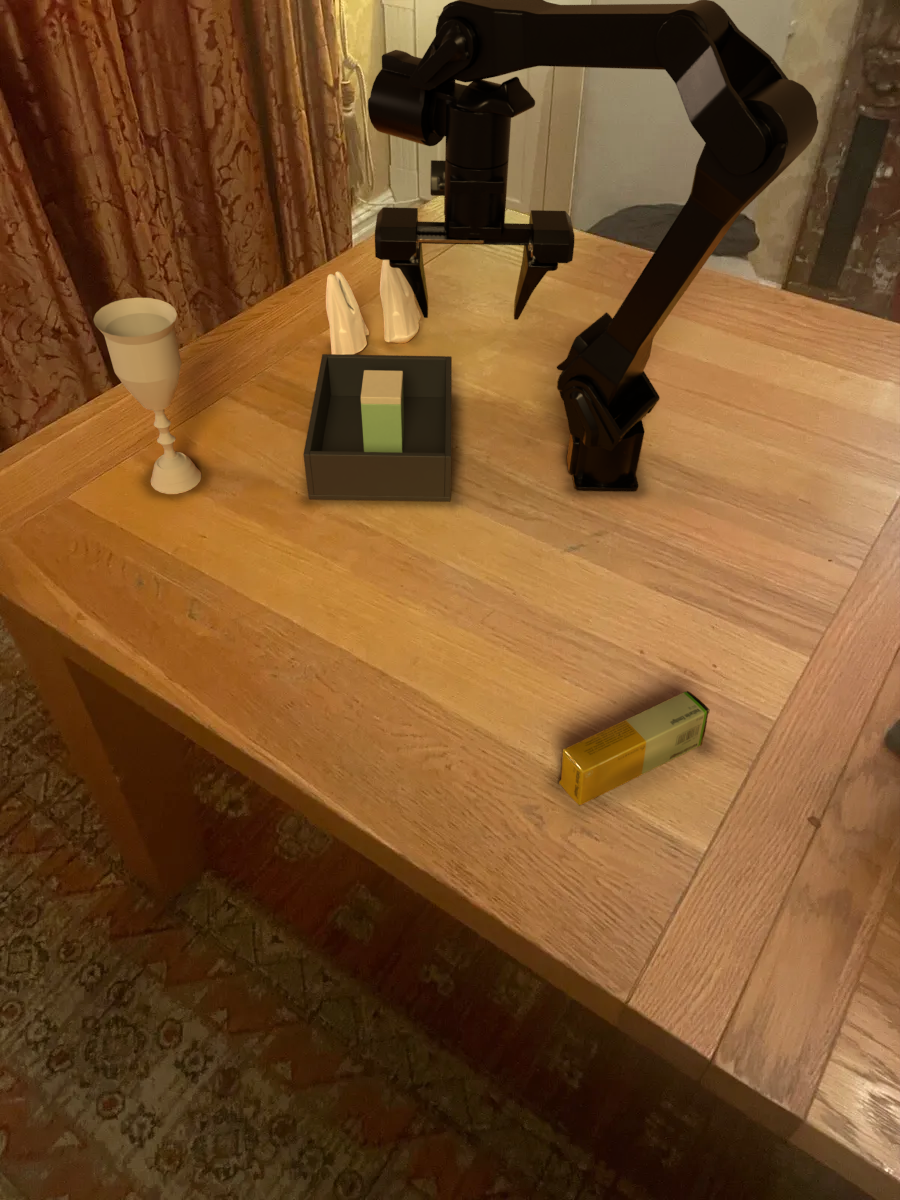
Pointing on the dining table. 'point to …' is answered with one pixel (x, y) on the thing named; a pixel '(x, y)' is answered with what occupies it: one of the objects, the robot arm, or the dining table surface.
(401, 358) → the bin
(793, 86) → the robot arm
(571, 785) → the medication box
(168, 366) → the chalice
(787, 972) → the dining table surface
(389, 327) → the shaker set
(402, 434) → the juice carton
